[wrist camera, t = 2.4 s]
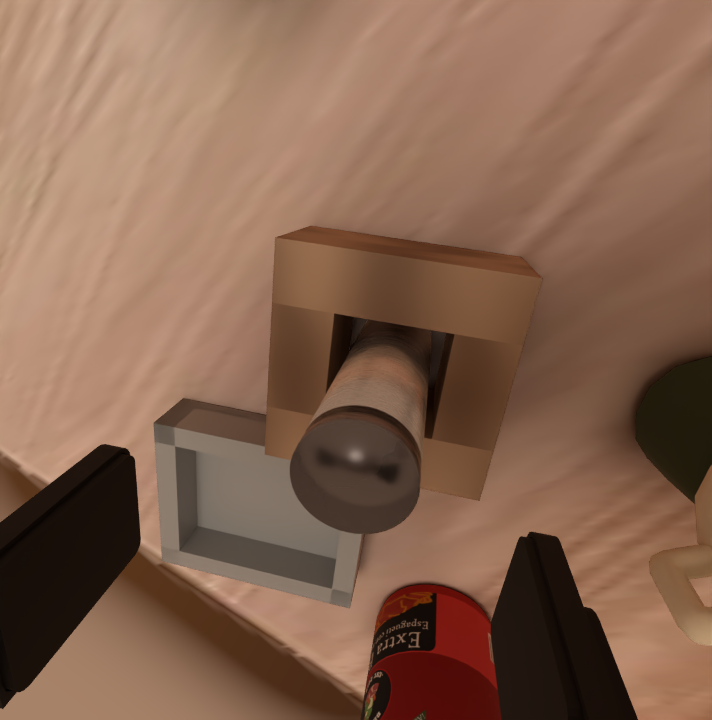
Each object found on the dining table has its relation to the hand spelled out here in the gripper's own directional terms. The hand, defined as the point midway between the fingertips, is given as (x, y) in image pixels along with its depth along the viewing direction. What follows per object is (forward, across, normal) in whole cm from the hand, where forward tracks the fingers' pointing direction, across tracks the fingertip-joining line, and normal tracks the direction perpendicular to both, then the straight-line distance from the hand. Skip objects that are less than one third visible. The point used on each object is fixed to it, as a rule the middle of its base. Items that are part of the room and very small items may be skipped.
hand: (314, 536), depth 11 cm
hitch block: (+14, -1, -1) cm, 14 cm away
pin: (+14, -1, -1) cm, 14 cm away
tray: (+14, +5, +10) cm, 18 cm away
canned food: (+14, -6, +19) cm, 24 cm away
